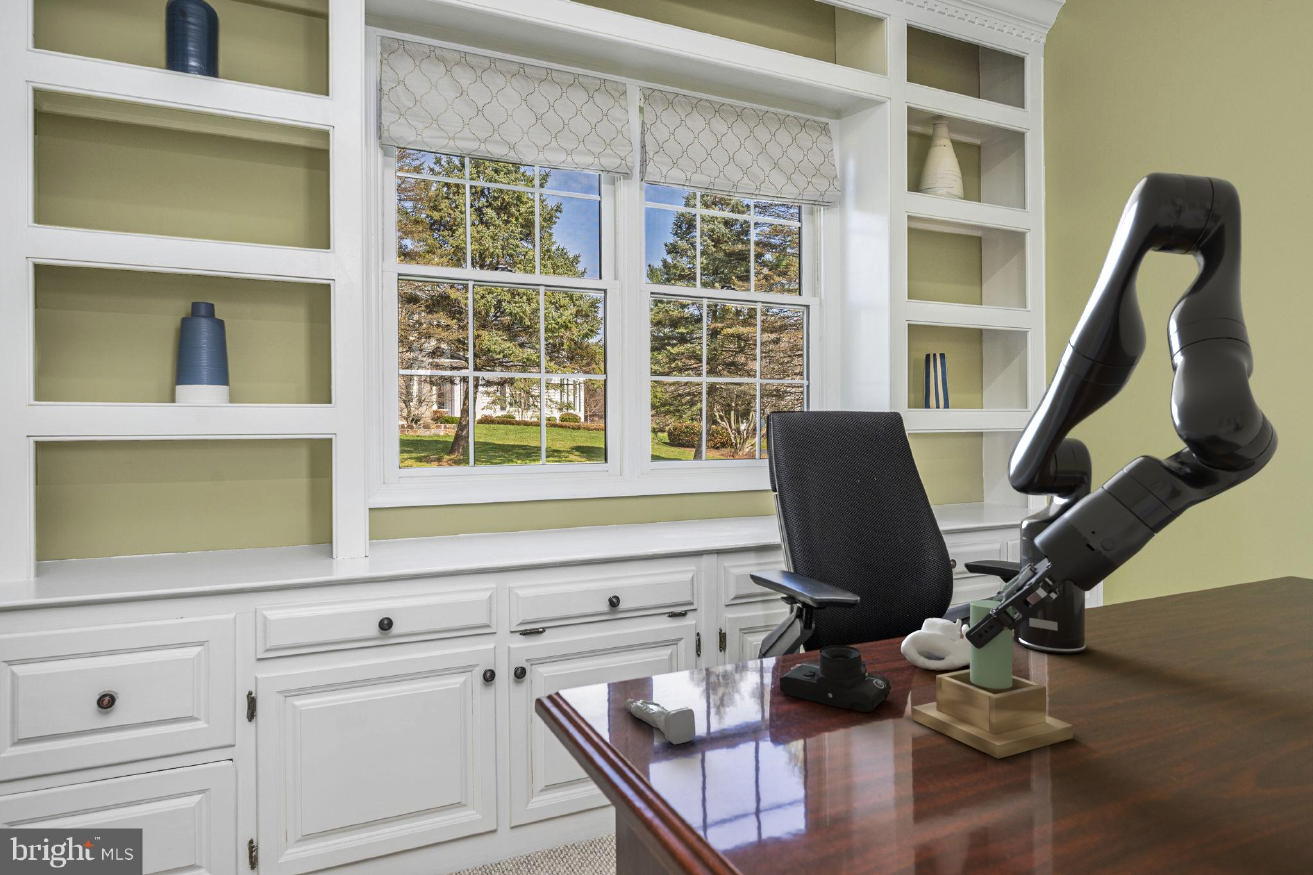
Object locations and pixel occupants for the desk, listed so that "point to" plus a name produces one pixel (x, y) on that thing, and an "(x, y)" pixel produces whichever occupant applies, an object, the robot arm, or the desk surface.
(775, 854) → the desk surface
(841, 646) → the film camera
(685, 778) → the desk surface
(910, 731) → the desk surface
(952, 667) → the white looped sculpture
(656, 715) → the figurine
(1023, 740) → the display stand
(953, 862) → the desk surface
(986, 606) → the green tall cylinder
